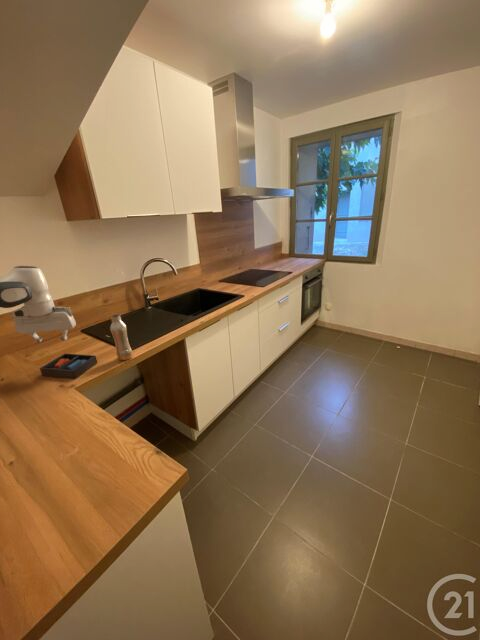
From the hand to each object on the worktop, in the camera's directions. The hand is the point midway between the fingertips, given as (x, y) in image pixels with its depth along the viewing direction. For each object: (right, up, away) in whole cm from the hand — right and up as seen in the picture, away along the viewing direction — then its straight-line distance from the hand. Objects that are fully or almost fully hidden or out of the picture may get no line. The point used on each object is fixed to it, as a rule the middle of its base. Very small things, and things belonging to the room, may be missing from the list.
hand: (52, 340), depth 104 cm
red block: (+1, -11, +5) cm, 12 cm away
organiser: (+5, -12, +4) cm, 14 cm away
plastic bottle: (+25, -9, +11) cm, 28 cm away
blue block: (+8, -11, +3) cm, 15 cm away
